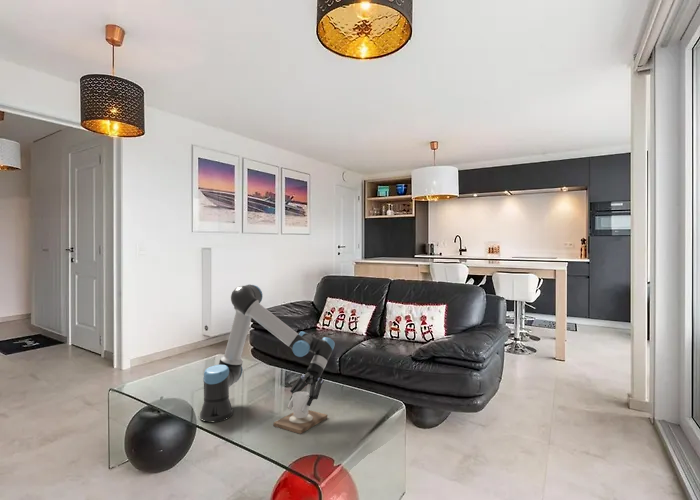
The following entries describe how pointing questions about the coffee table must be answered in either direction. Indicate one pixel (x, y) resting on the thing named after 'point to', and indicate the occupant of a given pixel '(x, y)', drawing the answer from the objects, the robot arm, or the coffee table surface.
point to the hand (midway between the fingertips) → (296, 410)
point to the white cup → (299, 403)
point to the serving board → (300, 422)
